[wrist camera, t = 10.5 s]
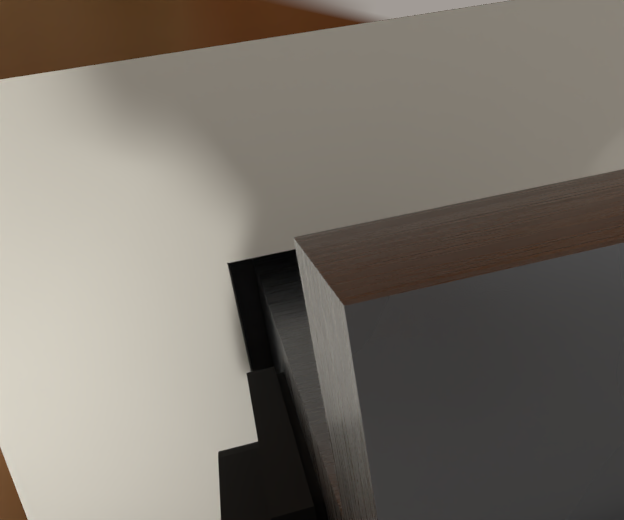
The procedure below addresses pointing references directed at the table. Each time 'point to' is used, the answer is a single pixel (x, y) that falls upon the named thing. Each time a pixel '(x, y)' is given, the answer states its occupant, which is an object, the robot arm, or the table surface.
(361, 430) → the gray metal ingot
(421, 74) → the slotted block
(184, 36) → the table surface
